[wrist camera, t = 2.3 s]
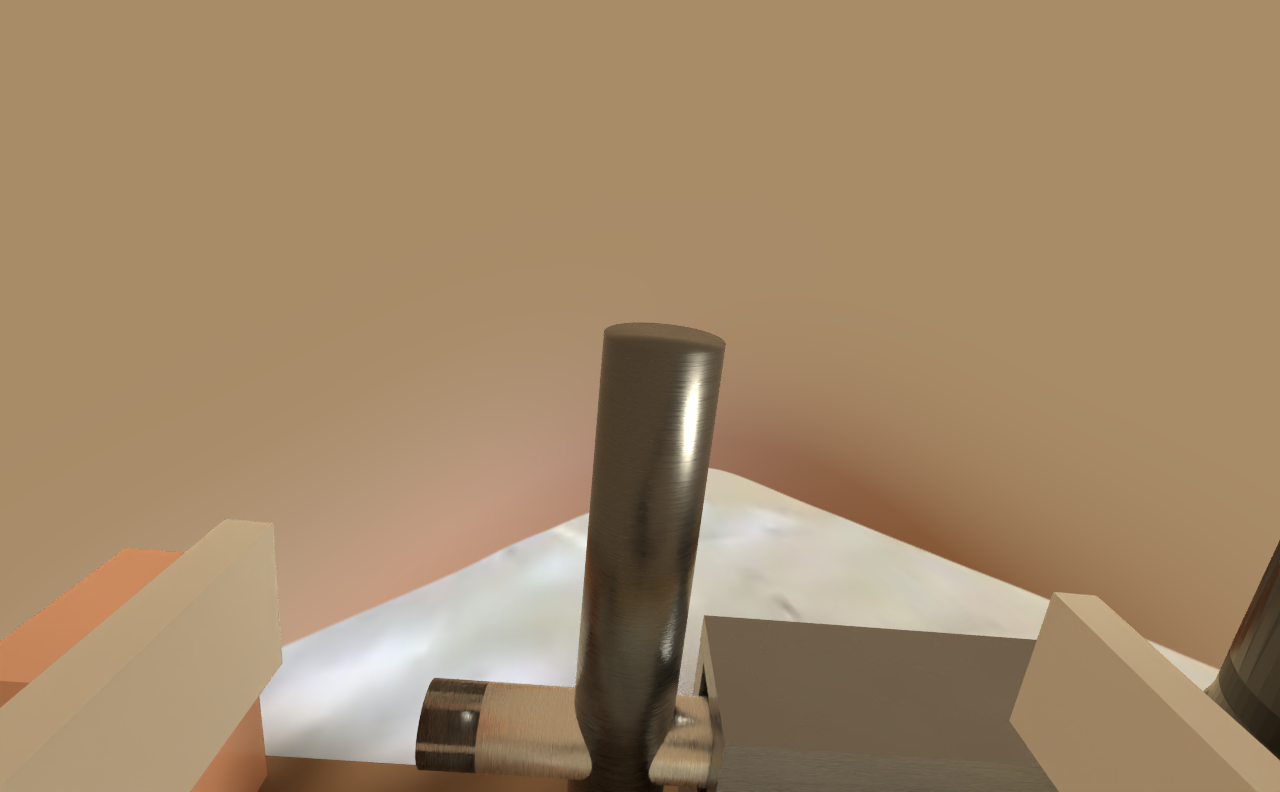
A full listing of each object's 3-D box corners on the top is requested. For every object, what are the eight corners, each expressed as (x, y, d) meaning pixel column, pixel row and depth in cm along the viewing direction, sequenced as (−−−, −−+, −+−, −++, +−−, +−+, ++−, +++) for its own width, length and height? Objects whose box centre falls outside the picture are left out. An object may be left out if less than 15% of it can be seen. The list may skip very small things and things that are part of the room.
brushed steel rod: (1010, 820, 29) (1171, 370, 22) (1061, 908, 25) (1268, 406, 19) (440, 785, 28) (442, 303, 21) (414, 871, 24) (406, 328, 18)
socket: (267, 775, 30) (244, 556, 26) (162, 950, 23) (113, 688, 20) (162, 768, 29) (125, 547, 26) (25, 942, 23) (-49, 677, 19)
